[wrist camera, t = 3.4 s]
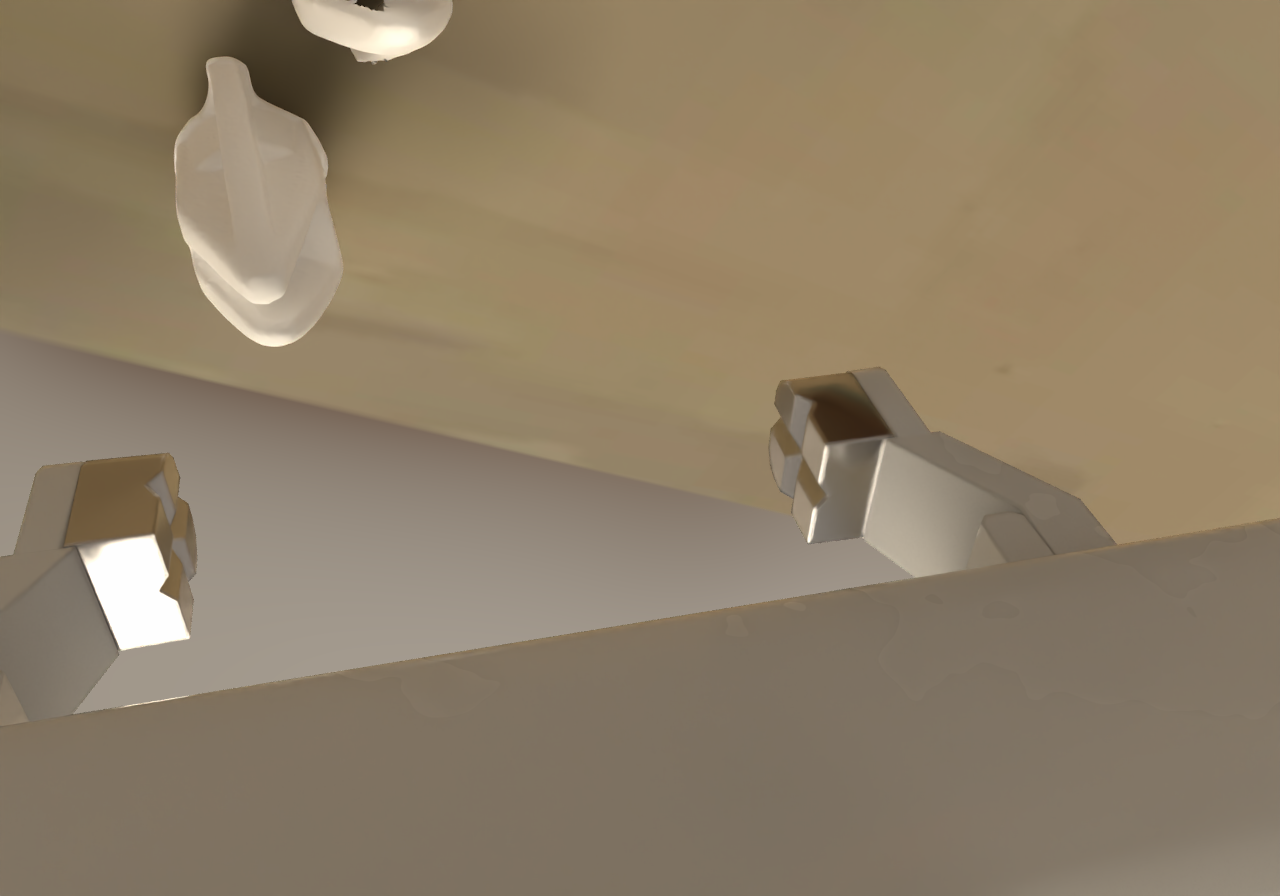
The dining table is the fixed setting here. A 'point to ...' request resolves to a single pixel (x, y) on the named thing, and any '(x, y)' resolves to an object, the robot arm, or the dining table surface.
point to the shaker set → (276, 178)
